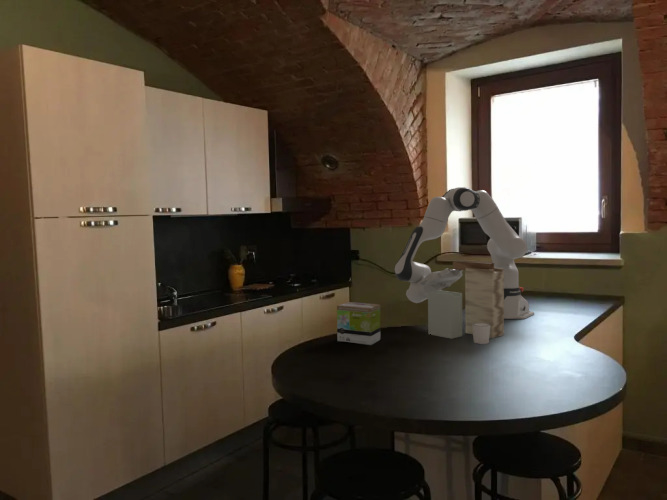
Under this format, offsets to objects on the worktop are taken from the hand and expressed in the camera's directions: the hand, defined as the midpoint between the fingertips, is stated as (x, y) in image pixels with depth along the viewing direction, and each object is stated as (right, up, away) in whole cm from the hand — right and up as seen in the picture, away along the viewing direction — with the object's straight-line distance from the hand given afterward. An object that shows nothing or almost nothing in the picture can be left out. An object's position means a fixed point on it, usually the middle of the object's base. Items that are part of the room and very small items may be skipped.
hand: (455, 268), depth 231 cm
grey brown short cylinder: (+5, -28, -24) cm, 37 cm away
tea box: (-42, -28, -17) cm, 54 cm away
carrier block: (-7, -27, -10) cm, 29 cm away
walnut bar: (+6, 0, -7) cm, 9 cm away
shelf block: (+10, -27, -9) cm, 30 cm away
